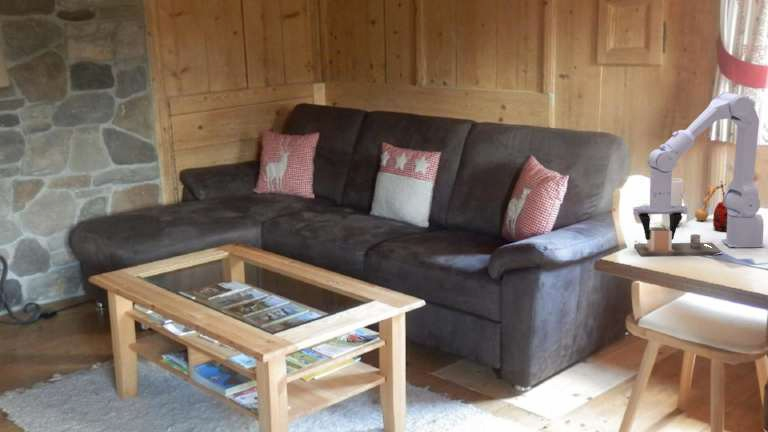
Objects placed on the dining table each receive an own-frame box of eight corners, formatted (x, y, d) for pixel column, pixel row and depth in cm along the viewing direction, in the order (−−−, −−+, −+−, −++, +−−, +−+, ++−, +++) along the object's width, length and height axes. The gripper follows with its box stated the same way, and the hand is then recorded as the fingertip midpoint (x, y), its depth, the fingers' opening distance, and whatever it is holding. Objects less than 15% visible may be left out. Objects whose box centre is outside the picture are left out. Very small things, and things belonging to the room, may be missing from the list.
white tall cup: (683, 228, 268) (685, 181, 265) (660, 228, 269) (662, 181, 266) (680, 223, 274) (682, 177, 271) (658, 223, 276) (659, 177, 272)
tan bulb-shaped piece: (695, 217, 281) (697, 181, 279) (715, 218, 279) (716, 182, 276) (694, 223, 274) (695, 186, 271) (714, 224, 272) (715, 187, 269)
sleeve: (671, 250, 241) (672, 231, 239) (651, 250, 241) (651, 231, 240) (666, 245, 246) (667, 226, 245) (647, 245, 247) (647, 227, 245)
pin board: (711, 245, 247) (712, 230, 246) (721, 255, 237) (722, 239, 236) (634, 247, 249) (634, 232, 248) (640, 256, 240) (641, 240, 239)
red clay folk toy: (720, 233, 260) (723, 185, 257) (707, 228, 267) (709, 181, 264) (742, 231, 262) (745, 183, 259) (728, 226, 269) (731, 179, 265)
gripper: (683, 188, 243) (682, 234, 246) (631, 190, 245) (630, 235, 248) (689, 193, 236) (688, 241, 239) (636, 194, 238) (635, 241, 241)
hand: (659, 238), depth 243 cm, fingers open, 6 cm apart
